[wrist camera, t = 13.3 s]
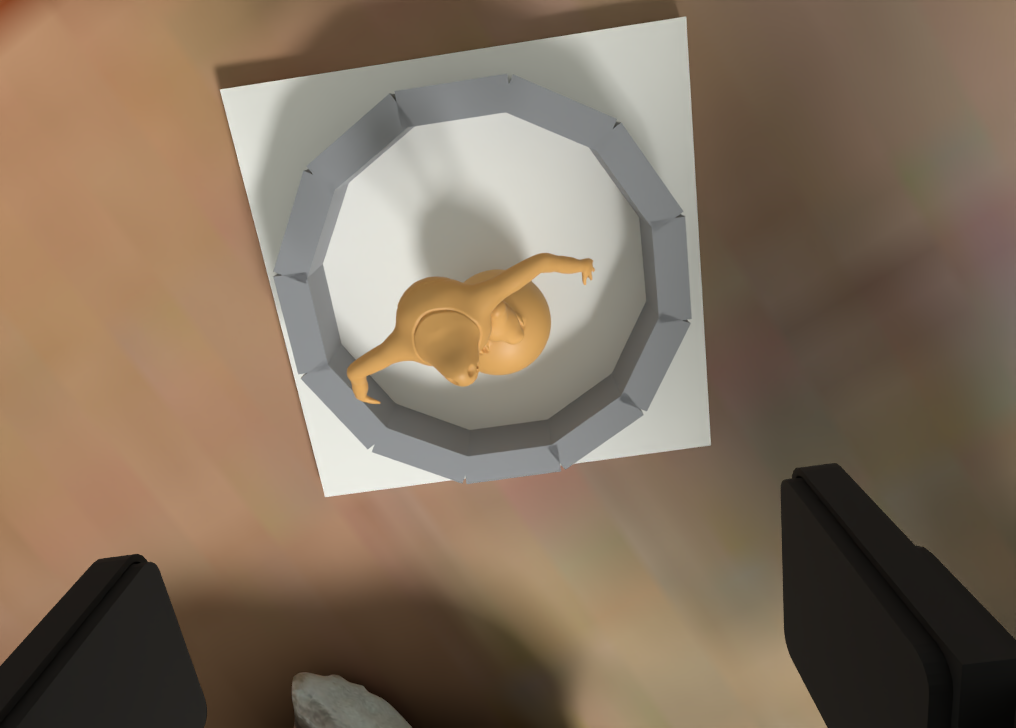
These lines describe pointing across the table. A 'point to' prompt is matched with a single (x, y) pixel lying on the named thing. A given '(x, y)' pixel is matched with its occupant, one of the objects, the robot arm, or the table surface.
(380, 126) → the ring stand
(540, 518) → the table surface
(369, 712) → the dark grey rounded piece
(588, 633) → the table surface
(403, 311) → the figurine
